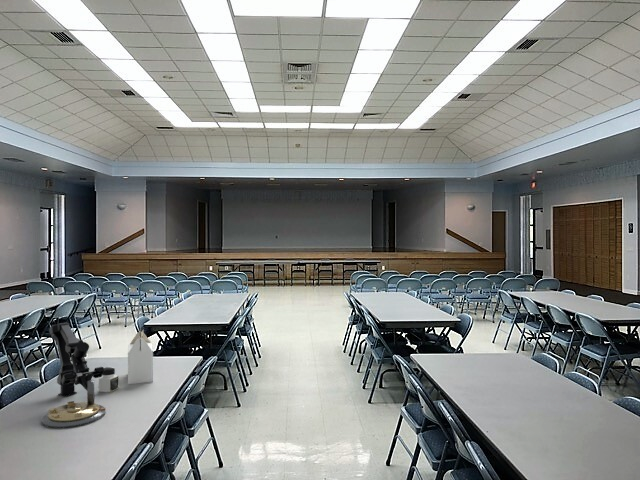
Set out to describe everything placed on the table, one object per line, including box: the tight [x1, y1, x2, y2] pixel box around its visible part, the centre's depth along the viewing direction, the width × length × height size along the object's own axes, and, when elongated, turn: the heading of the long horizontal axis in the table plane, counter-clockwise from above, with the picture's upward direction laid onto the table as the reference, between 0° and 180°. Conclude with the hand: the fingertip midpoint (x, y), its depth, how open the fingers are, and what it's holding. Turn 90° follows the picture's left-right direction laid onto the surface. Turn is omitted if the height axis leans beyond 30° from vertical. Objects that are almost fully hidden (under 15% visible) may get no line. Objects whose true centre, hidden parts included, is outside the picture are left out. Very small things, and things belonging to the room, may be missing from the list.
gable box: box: [127, 327, 154, 385], centre depth 283 cm, size 22×13×28 cm, turn 20°
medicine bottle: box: [98, 366, 119, 393], centre depth 261 cm, size 7×7×12 cm
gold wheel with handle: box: [47, 379, 100, 422], centre depth 222 cm, size 21×21×12 cm
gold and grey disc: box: [41, 404, 106, 429], centre depth 223 cm, size 26×26×2 cm
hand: (88, 390), depth 234 cm, fingers closed
